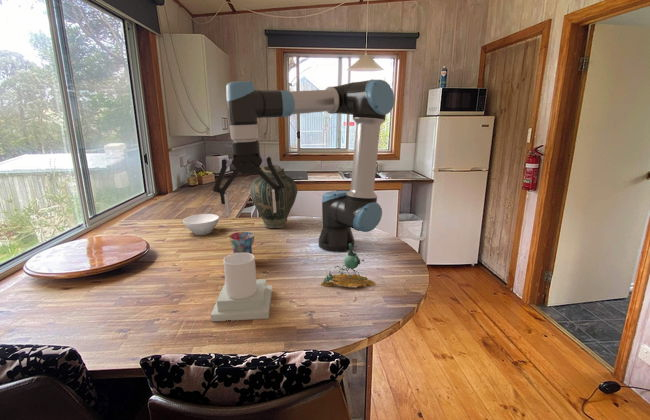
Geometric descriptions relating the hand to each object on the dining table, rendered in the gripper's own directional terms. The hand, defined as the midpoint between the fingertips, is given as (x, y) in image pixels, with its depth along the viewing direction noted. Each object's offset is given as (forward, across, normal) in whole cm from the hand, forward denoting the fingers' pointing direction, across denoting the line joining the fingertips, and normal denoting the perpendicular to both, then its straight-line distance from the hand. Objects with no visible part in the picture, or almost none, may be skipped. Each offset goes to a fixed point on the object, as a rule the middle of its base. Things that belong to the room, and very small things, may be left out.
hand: (251, 213), depth 101 cm
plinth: (+24, +3, +10) cm, 27 cm away
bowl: (+25, +30, -59) cm, 71 cm away
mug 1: (+25, +6, -22) cm, 34 cm away
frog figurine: (+26, -29, 0) cm, 38 cm away
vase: (+26, -4, -64) cm, 69 cm away
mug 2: (+20, +3, +10) cm, 22 cm away
